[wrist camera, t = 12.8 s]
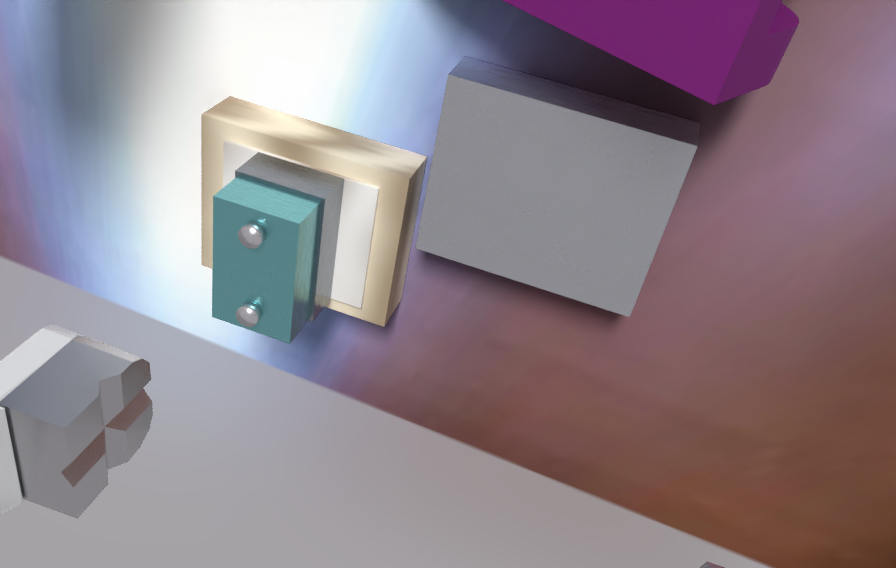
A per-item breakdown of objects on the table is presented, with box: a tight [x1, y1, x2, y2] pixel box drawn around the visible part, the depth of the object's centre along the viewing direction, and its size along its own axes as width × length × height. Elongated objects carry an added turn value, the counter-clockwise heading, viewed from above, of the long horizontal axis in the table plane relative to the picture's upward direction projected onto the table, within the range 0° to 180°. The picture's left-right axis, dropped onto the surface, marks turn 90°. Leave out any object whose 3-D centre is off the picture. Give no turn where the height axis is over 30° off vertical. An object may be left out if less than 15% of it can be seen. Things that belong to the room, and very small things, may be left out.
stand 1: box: [202, 97, 427, 327], centre depth 46 cm, size 12×10×3 cm
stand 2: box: [416, 56, 700, 317], centre depth 41 cm, size 12×10×3 cm
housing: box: [212, 152, 344, 344], centre depth 42 cm, size 5×8×6 cm, turn 170°
